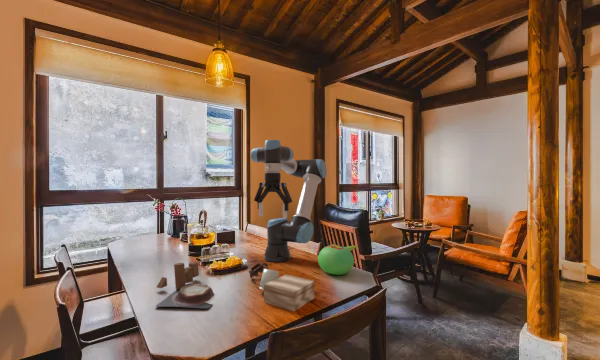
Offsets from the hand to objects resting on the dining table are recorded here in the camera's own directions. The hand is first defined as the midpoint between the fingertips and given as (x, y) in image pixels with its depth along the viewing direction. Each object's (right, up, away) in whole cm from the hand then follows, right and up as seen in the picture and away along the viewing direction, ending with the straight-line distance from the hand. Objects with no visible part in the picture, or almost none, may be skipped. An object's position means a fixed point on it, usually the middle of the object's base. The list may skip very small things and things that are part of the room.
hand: (272, 217), depth 137 cm
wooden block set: (-39, -29, -12) cm, 49 cm away
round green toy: (+31, -29, +5) cm, 43 cm away
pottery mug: (-3, -30, -2) cm, 30 cm away
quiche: (-29, -30, -23) cm, 48 cm away
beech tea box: (+9, -29, -26) cm, 40 cm away
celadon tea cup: (+1, -20, -17) cm, 26 cm away
